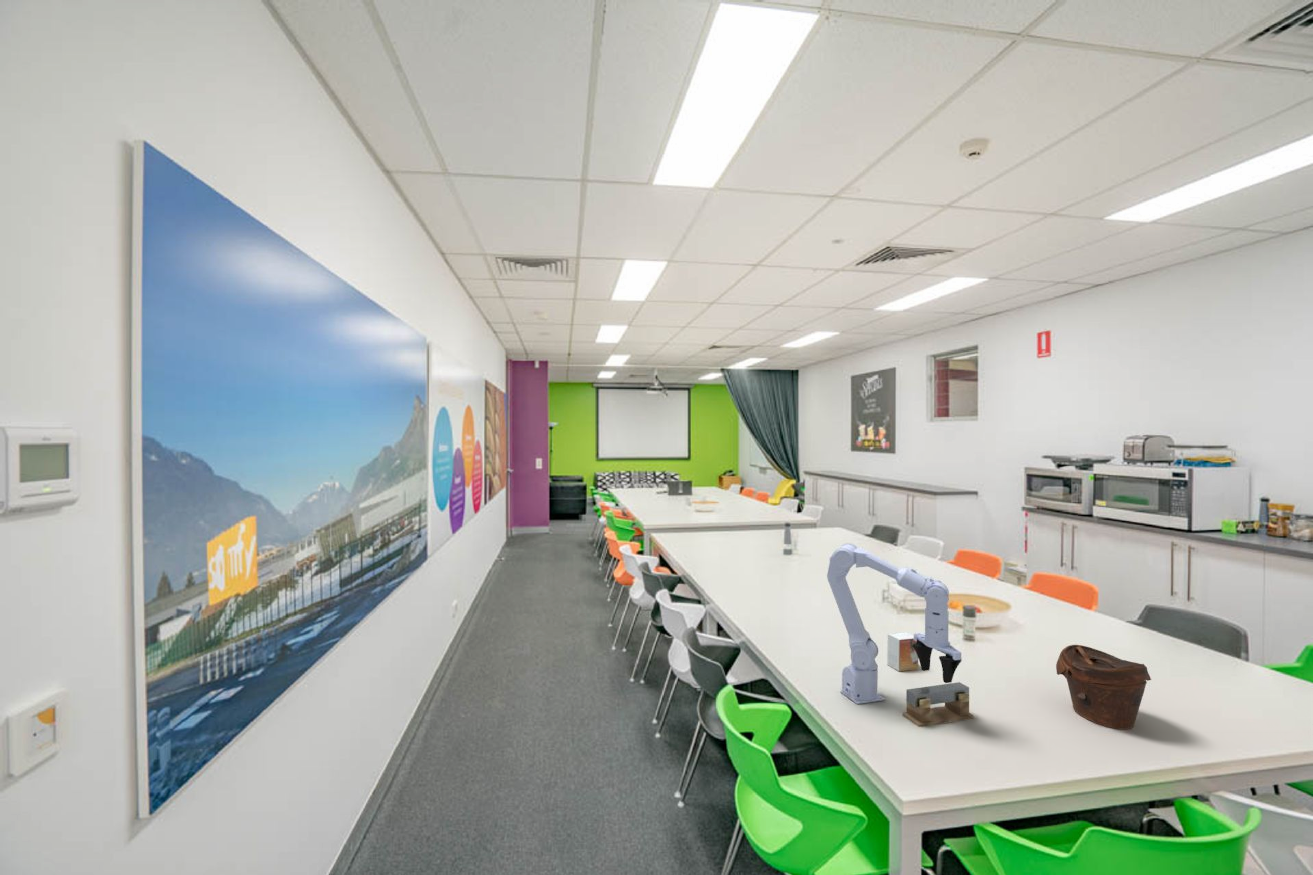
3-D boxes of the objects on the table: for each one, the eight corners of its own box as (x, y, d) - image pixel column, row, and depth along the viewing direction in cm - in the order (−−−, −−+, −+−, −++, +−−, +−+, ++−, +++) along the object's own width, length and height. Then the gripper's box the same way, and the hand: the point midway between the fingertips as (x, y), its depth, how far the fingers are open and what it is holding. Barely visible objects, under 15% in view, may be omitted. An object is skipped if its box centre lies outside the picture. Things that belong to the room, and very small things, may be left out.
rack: (918, 726, 136) (919, 702, 137) (902, 715, 142) (902, 691, 142) (973, 718, 141) (973, 694, 141) (955, 707, 147) (955, 684, 147)
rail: (915, 707, 138) (915, 694, 138) (906, 701, 141) (906, 689, 141) (969, 698, 143) (969, 687, 143) (959, 693, 146) (959, 682, 146)
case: (1056, 692, 157) (1057, 633, 157) (1147, 715, 144) (1148, 651, 144) (1054, 716, 143) (1055, 652, 143) (1154, 744, 131) (1155, 673, 130)
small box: (898, 671, 170) (899, 639, 170) (886, 664, 175) (887, 633, 175) (918, 669, 172) (919, 637, 172) (906, 662, 177) (906, 631, 177)
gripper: (970, 634, 138) (970, 685, 138) (927, 616, 152) (927, 663, 151) (949, 636, 136) (949, 689, 136) (907, 618, 150) (907, 666, 149)
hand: (936, 675), depth 143 cm, fingers open, 7 cm apart
